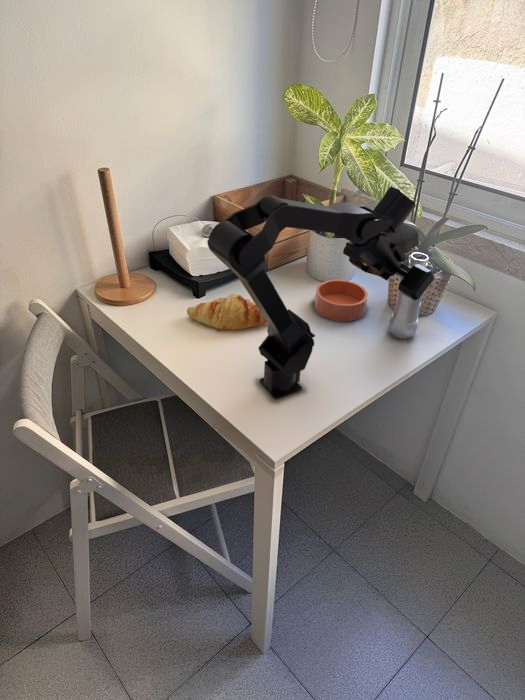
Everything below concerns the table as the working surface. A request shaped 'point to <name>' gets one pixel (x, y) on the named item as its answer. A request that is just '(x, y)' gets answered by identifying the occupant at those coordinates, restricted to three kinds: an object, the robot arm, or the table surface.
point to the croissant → (228, 313)
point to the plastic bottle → (407, 306)
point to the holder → (340, 300)
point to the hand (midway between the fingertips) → (403, 285)
